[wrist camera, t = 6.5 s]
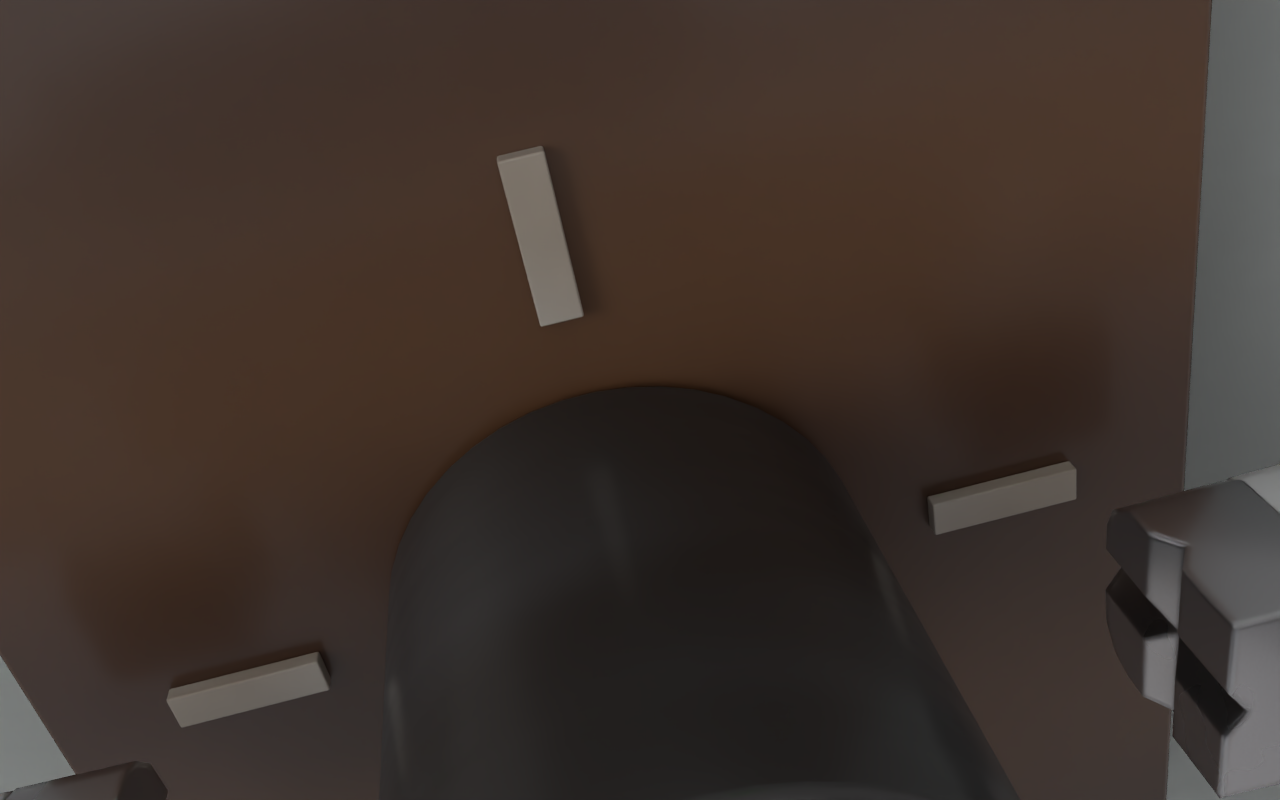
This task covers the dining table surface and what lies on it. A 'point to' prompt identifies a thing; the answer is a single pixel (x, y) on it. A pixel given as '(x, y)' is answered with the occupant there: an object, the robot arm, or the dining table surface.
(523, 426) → the dial
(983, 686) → the panel
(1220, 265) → the dining table surface
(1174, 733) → the robot arm
